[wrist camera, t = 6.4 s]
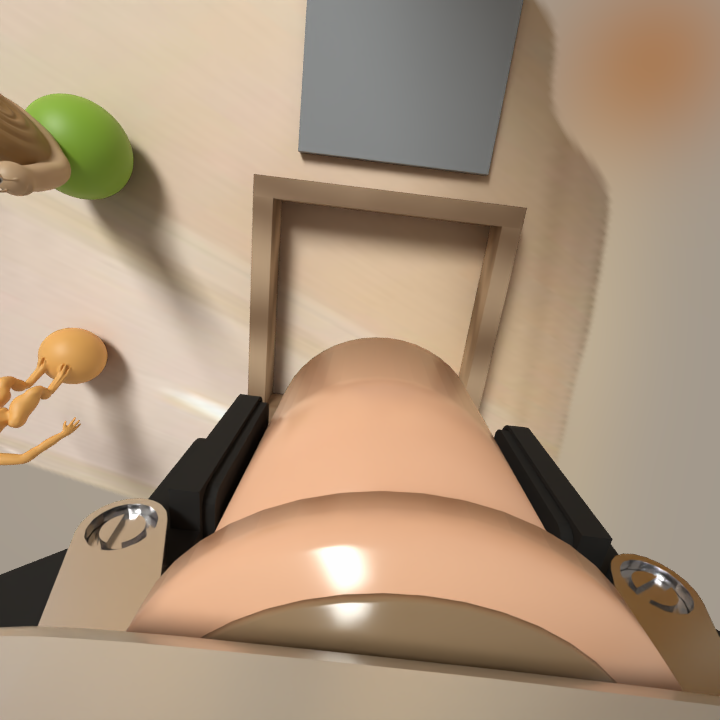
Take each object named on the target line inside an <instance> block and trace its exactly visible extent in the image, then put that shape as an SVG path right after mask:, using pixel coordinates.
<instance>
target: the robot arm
mask: <svg viewBox="0 0 720 720" xmlns="http://www.w3.org/2000/svg"><path fill="white" fill-rule="evenodd" d="M268 423H269V403H266V402H263V400H262V397H261V396H252V395H243V394H240V395H239V396H238V397H237V399H236V400H235V401H234V403H233V404H232V405H231V406H230V408H229V409H228V410H227V412H226V413H225V414H224V416H223V417H222V418H221V420H220V421H219V422H218V424H217V425H216V426H215V428H214V429H213V430H212V432H211V433H210V434H209V436H208V437H207V438H206V439H205V438H198V439H197V440H195V441H194V443H193V444H192V445H191V446H190V448H189V449H188V450H187V451H186V453H185V454H184V455H183V456H182V458H181V459H180V460H179V461H178V463H177V464H176V465H175V466H174V468H173V469H172V470H171V471H170V473H169V474H168V475H167V476H166V478H165V479H164V480H163V481H162V483H161V484H160V485H159V486H158V488H157V489H156V490H155V491H154V493H153V494H152V495H151V496H150V497H149V499H143V498H136V499H126V500H121V501H116V502H113V503H111V504H108V505H105V506H103V507H101V508H99V509H98V510H96V511H94V512H93V513H91V514H90V515H88V516H87V517H86V518H85V519H84V520H83V521H82V522H81V523H80V525H79V526H78V528H77V529H76V531H75V532H74V535H73V538H72V540H71V543H70V545H69V548H68V549H65V550H63V551H60V552H58V553H55V554H52V555H50V556H47V557H45V558H43V559H40V560H37V561H34V562H32V563H30V564H27V565H24V566H22V567H19V568H17V569H14V570H11V571H9V572H6V573H4V574H1V575H0V720H720V631H718V630H717V629H715V627H714V624H713V622H712V620H711V618H710V616H709V614H708V612H707V609H706V607H705V605H704V603H703V601H702V600H701V598H700V597H699V595H698V593H697V592H696V591H695V590H694V589H693V588H692V587H691V586H690V585H689V584H688V582H687V581H685V580H684V579H683V578H682V577H680V576H679V575H678V574H676V573H675V572H674V571H672V570H670V569H669V568H667V567H665V566H664V565H662V564H660V563H658V562H656V561H654V560H651V559H649V558H647V557H643V556H639V555H635V554H620V555H618V554H617V552H616V551H615V549H614V548H613V547H612V545H611V541H612V538H611V537H610V535H609V534H608V533H607V531H606V530H605V529H604V527H603V526H602V525H601V523H600V522H599V521H598V519H597V518H596V517H595V515H594V514H593V513H592V511H591V510H590V509H589V507H588V506H587V505H586V503H585V502H584V501H583V499H582V498H581V497H580V495H579V494H578V493H577V491H576V490H575V489H574V488H573V486H572V485H571V484H570V482H569V481H568V480H567V478H566V477H565V476H564V474H563V473H562V472H561V470H560V469H559V468H558V466H557V465H556V464H555V462H554V461H553V460H552V458H551V457H550V456H549V454H548V453H547V452H546V450H545V449H544V448H543V446H542V445H541V444H540V443H539V441H538V440H537V439H536V437H535V436H534V435H533V433H532V432H531V431H530V429H529V428H525V427H517V426H508V425H506V426H504V428H503V429H502V430H497V431H496V433H495V437H494V439H495V441H496V443H497V444H498V446H499V448H500V450H501V451H502V453H503V455H504V457H505V459H506V460H507V462H508V464H509V466H510V468H511V469H512V471H513V473H514V475H515V476H516V478H517V480H518V482H519V484H520V485H521V487H522V489H523V491H524V492H525V494H526V496H527V498H528V500H529V501H530V503H531V505H532V507H533V508H534V510H535V512H536V514H537V516H538V517H539V519H540V521H541V523H542V525H543V526H544V528H545V530H546V531H547V532H549V533H550V534H552V535H554V536H555V537H557V538H559V539H560V540H562V541H564V542H566V543H567V544H569V545H570V546H572V547H573V548H574V549H575V550H577V551H578V552H579V553H580V554H582V555H583V556H584V557H585V558H587V559H588V560H589V561H590V562H592V563H593V564H594V565H595V566H596V567H597V568H598V569H599V570H600V571H601V572H602V573H603V574H604V575H605V577H606V578H607V579H608V580H609V581H610V582H611V583H612V584H613V585H614V586H615V588H616V589H617V590H618V592H619V593H620V595H621V596H622V598H623V599H624V601H625V602H626V604H627V605H628V607H629V608H630V610H631V611H632V613H633V614H634V616H635V617H636V619H637V620H638V622H639V623H640V625H641V626H642V628H643V629H644V631H645V632H646V634H647V635H648V637H649V638H650V640H651V641H652V643H653V644H654V646H655V647H656V649H657V650H658V652H659V653H660V655H661V657H662V658H663V660H664V661H665V663H666V664H667V666H668V667H669V669H670V671H671V672H672V674H673V675H674V677H675V678H676V680H677V682H678V683H679V685H680V686H681V688H682V691H683V692H682V691H675V690H668V689H660V688H652V687H644V686H635V685H626V684H618V683H609V682H600V681H592V680H583V679H574V678H566V677H557V676H548V675H540V674H531V673H522V672H514V671H505V670H496V669H487V668H478V667H469V666H459V665H450V664H441V663H432V662H423V661H414V660H405V659H395V658H386V657H377V656H368V655H358V654H349V653H340V652H331V651H321V650H311V649H301V648H292V647H282V646H272V645H262V644H253V643H243V642H233V641H224V640H214V639H204V638H194V637H185V636H173V635H161V634H149V633H137V632H126V630H127V628H128V626H129V625H130V623H131V621H132V620H133V618H134V616H135V615H136V613H137V611H138V610H139V608H140V606H141V605H142V603H143V601H144V600H145V598H146V596H147V595H148V593H149V592H150V590H151V589H152V587H153V585H154V584H155V582H156V581H157V580H158V579H159V578H160V577H161V576H162V575H163V573H164V572H165V571H166V570H167V569H168V568H169V567H170V566H171V565H172V564H173V562H174V561H175V560H177V559H178V558H179V557H180V556H182V555H183V554H184V553H185V552H187V551H188V550H189V549H190V548H192V547H193V546H194V545H195V544H197V543H198V542H199V541H201V540H203V539H204V538H206V537H208V536H209V535H211V534H213V533H214V532H215V530H216V528H217V526H218V524H219V522H220V521H221V519H222V517H223V515H224V513H225V511H226V509H227V507H228V505H229V503H230V501H231V499H232V497H233V495H234V493H235V491H236V489H237V487H238V485H239V483H240V481H241V479H242V477H243V475H244V473H245V471H246V469H247V467H248V465H249V463H250V461H251V459H252V457H253V455H254V453H255V451H256V449H257V447H258V445H259V443H260V441H261V439H262V437H263V435H264V433H265V431H266V429H267V427H268Z"/></svg>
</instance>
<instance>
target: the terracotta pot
mask: <svg viewBox="0 0 720 720" xmlns="http://www.w3.org/2000/svg"><path fill="white" fill-rule="evenodd" d="M126 632H137V633H149V634H161V635H173V636H185V637H194V638H204V639H214V640H224V641H233V642H243V643H253V644H262V645H272V646H282V647H292V648H301V649H311V650H321V651H331V652H340V653H349V654H358V655H368V656H377V657H386V658H395V659H405V660H414V661H423V662H432V663H441V664H450V665H459V666H469V667H478V668H487V669H496V670H505V671H514V672H522V673H531V674H540V675H548V676H557V677H566V678H574V679H583V680H592V681H600V682H609V683H618V684H626V685H635V686H644V687H652V688H660V689H668V690H675V691H682V688H681V686H680V685H679V683H678V682H677V680H676V678H675V677H674V675H673V674H672V672H671V671H670V669H669V667H668V666H667V664H666V663H665V661H664V660H663V658H662V657H661V655H660V653H659V652H658V650H657V649H656V647H655V646H654V644H653V643H652V641H651V640H650V638H649V637H648V635H647V634H646V632H645V631H644V629H643V628H642V626H641V625H640V623H639V622H638V620H637V619H636V617H635V616H634V614H633V613H632V611H631V610H630V608H629V607H628V605H627V604H626V602H625V601H624V599H623V598H622V596H621V595H620V593H619V592H618V590H617V589H616V588H615V586H614V585H613V584H612V583H611V582H610V581H609V580H608V579H607V578H606V577H605V575H604V574H603V573H602V572H601V571H600V570H599V569H598V568H597V567H596V566H595V565H594V564H593V563H592V562H590V561H589V560H588V559H587V558H585V557H584V556H583V555H582V554H580V553H579V552H578V551H577V550H575V549H574V548H573V547H572V546H570V545H569V544H567V543H566V542H564V541H562V540H560V539H559V538H557V537H555V536H554V535H552V534H550V533H549V532H547V531H546V530H545V528H544V526H543V525H542V523H541V521H540V519H539V517H538V516H537V514H536V512H535V510H534V508H533V507H532V505H531V503H530V501H529V500H528V498H527V496H526V494H525V492H524V491H523V489H522V487H521V485H520V484H519V482H518V480H517V478H516V476H515V475H514V473H513V471H512V469H511V468H510V466H509V464H508V462H507V460H506V459H505V457H504V455H503V453H502V451H501V450H500V448H499V446H498V444H497V443H496V441H495V439H494V437H493V435H492V434H491V432H490V430H489V428H488V427H487V425H486V423H485V421H484V419H483V418H482V416H481V414H480V412H479V410H478V409H477V407H476V405H475V403H474V402H473V400H472V398H471V396H470V394H469V393H468V391H467V389H466V387H465V386H464V384H463V383H462V381H461V380H460V378H459V376H458V375H457V374H456V373H455V372H454V371H453V370H452V368H451V367H450V366H449V365H448V364H446V363H445V362H444V361H443V360H442V359H441V358H439V357H438V356H436V355H435V354H433V353H431V352H430V351H428V350H426V349H424V348H422V347H420V346H418V345H415V344H412V343H409V342H406V341H402V340H396V339H391V338H377V337H375V338H361V339H356V340H351V341H347V342H344V343H341V344H338V345H335V346H333V347H331V348H329V349H327V350H325V351H323V352H321V353H320V354H318V355H317V356H315V357H314V358H312V359H311V360H310V361H309V362H308V363H307V364H305V365H304V366H303V367H302V368H301V369H300V371H299V372H298V373H297V374H296V375H295V376H294V378H293V379H292V381H291V383H290V384H289V386H288V387H287V389H286V391H285V393H284V395H283V397H282V399H281V401H280V403H279V405H278V407H277V409H276V411H275V413H274V415H273V417H272V419H271V421H270V423H269V425H268V427H267V429H266V431H265V433H264V435H263V437H262V439H261V441H260V443H259V445H258V447H257V449H256V451H255V453H254V455H253V457H252V459H251V461H250V463H249V465H248V467H247V469H246V471H245V473H244V475H243V477H242V479H241V481H240V483H239V485H238V487H237V489H236V491H235V493H234V495H233V497H232V499H231V501H230V503H229V505H228V507H227V509H226V511H225V513H224V515H223V517H222V519H221V521H220V522H219V524H218V526H217V528H216V530H215V532H214V533H213V534H211V535H209V536H208V537H206V538H204V539H203V540H201V541H199V542H198V543H197V544H195V545H194V546H193V547H192V548H190V549H189V550H188V551H187V552H185V553H184V554H183V555H182V556H180V557H179V558H178V559H177V560H175V561H174V562H173V564H172V565H171V566H170V567H169V568H168V569H167V570H166V571H165V572H164V573H163V575H162V576H161V577H160V578H159V579H158V580H157V581H156V582H155V584H154V585H153V587H152V589H151V590H150V592H149V593H148V595H147V596H146V598H145V600H144V601H143V603H142V605H141V606H140V608H139V610H138V611H137V613H136V615H135V616H134V618H133V620H132V621H131V623H130V625H129V626H128V628H127V630H126ZM682 692H683V691H682Z"/></svg>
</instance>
